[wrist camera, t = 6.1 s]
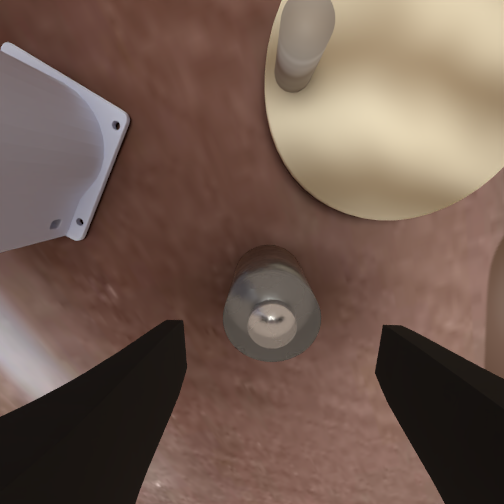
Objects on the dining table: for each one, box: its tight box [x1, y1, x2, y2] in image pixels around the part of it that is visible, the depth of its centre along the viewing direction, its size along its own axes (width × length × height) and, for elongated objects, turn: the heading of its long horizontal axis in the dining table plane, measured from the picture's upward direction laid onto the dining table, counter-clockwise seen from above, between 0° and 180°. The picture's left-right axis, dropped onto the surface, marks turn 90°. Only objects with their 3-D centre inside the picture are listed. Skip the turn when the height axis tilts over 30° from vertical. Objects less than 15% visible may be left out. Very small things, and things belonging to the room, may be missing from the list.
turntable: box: [265, 0, 504, 220], centre depth 11 cm, size 15×15×5 cm
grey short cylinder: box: [223, 245, 321, 362], centre depth 15 cm, size 5×5×7 cm
